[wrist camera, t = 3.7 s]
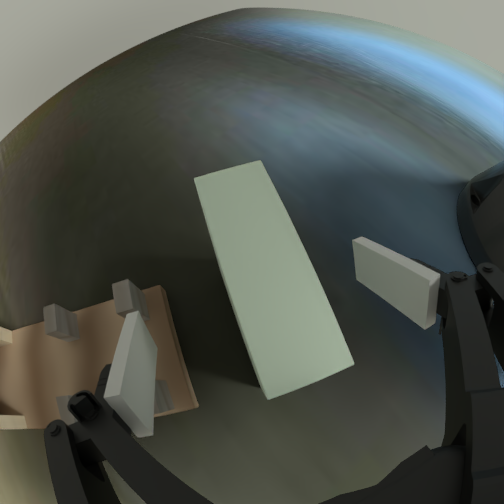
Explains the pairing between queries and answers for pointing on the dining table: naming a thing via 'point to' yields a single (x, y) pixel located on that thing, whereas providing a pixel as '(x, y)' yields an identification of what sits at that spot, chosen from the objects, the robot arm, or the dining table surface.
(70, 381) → the wooden rack
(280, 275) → the pale green block
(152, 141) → the dining table surface
